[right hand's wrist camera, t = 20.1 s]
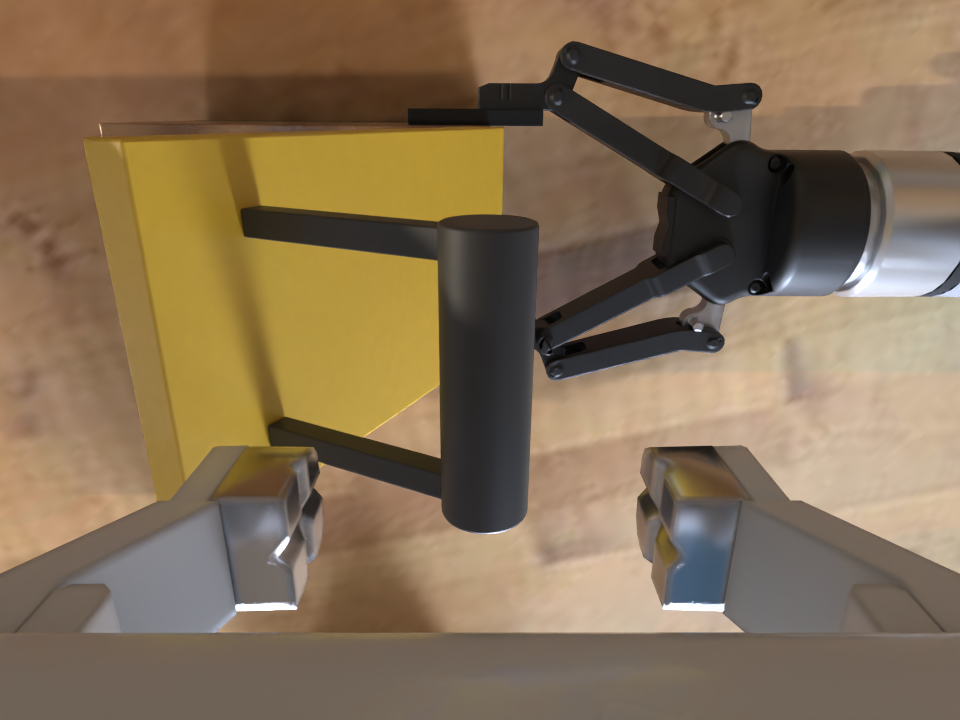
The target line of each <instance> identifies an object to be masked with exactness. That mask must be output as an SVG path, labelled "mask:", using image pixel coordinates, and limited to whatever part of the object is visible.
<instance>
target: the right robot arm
mask: <svg viewBox="0 0 960 720" xmlns="http://www.w3.org/2000/svg"><path fill="white" fill-rule="evenodd" d="M319 473H320V471H319V463H318V456H317V453H316V451H315V449H314V447H277V446H248V445H240V446H217V447H213V448H212V449H211V451H210V452H209V453H208V454H207V456H206V457H205V458H204V459H203V460H202V462H201V463H200V464H199V465H198V467H197V468H196V469H195V470H194V471H193V473H192V474H191V475H190V476H189V478H188V479H187V480H186V481H185V482H184V484H183V485H182V486H181V487H180V489H179V490H178V491H177V492H176V493H175V495H174V496H173V497H172V498H171V500H170V501H157V502H155V503H153V504H151V505H149V506H146V507H144V508H142V509H140V510H138V511H136V512H133V513H131V514H129V515H127V516H125V517H123V518H120V519H118V520H116V521H114V522H112V523H110V524H107V525H105V526H103V527H101V528H99V529H96V530H94V531H92V532H90V533H88V534H86V535H83V536H81V537H79V538H77V539H75V540H73V541H70V542H68V543H66V544H64V545H62V546H60V547H57V548H55V549H53V550H51V551H49V552H47V553H44V554H42V555H40V556H38V557H36V558H33V559H31V560H29V561H27V562H25V563H23V564H20V565H18V566H16V567H14V568H12V569H10V570H7V571H5V572H3V573H1V574H0V720H960V574H959V573H956V572H954V571H952V570H950V569H948V568H946V567H943V566H941V565H939V564H937V563H935V562H933V561H930V560H928V559H926V558H924V557H922V556H920V555H917V554H915V553H913V552H911V551H909V550H907V549H904V548H902V547H900V546H898V545H896V544H894V543H891V542H889V541H887V540H885V539H883V538H881V537H878V536H876V535H874V534H872V533H870V532H868V531H865V530H863V529H861V528H859V527H857V526H855V525H852V524H850V523H848V522H846V521H844V520H842V519H839V518H837V517H835V516H833V515H831V514H829V513H827V512H824V511H822V510H820V509H818V508H816V507H814V506H811V505H809V504H807V503H805V502H803V501H790V500H789V498H788V497H787V496H786V495H785V493H784V492H783V491H782V490H781V489H780V487H779V486H778V485H777V484H776V483H775V481H774V480H773V479H772V478H771V476H770V475H769V474H768V473H767V472H766V470H765V469H764V468H763V467H762V465H761V464H760V463H759V462H758V461H757V459H756V458H755V457H754V456H753V455H752V453H751V452H750V451H749V450H748V448H747V447H744V446H741V445H733V446H684V447H649V448H646V449H644V453H643V456H642V462H641V470H640V473H641V476H642V478H643V480H644V483H645V485H646V487H647V488H646V489H645V490H644V491H643V492H642V493H641V494H640V495H639V497H638V499H637V513H636V521H637V535H638V540H639V545H640V548H641V551H642V554H643V557H644V558H645V559H647V560H648V561H650V562H651V563H653V565H652V574H651V578H652V581H653V583H654V586H655V589H656V591H657V594H658V596H659V599H660V602H661V604H662V607H663V609H677V610H714V611H723V614H724V615H725V616H726V617H728V618H729V619H730V620H731V621H732V622H733V623H735V624H736V625H737V626H738V627H739V628H740V629H742V630H743V631H744V632H745V633H215V632H216V631H218V630H219V629H220V628H221V627H222V626H223V625H225V624H226V623H227V622H228V621H229V620H230V619H232V618H233V617H234V616H235V615H236V614H237V611H245V610H281V609H297V607H298V605H299V602H300V599H301V597H302V594H303V591H304V589H305V586H306V583H307V581H308V578H309V574H308V565H307V563H309V562H310V561H312V560H313V559H315V558H316V557H317V554H318V551H319V548H320V545H321V539H322V533H323V526H324V510H323V499H322V497H321V495H320V494H319V493H318V492H317V491H316V490H315V489H314V488H313V487H314V485H315V483H316V480H317V478H318V476H319Z"/></svg>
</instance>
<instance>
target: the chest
mask: <svg viewBox="0 0 960 720" xmlns="http://www.w3.org/2000/svg"><path fill="white" fill-rule="evenodd" d="M99 126H100V131H101V136H102V137H107V136H144V135H181V134H219V133H256V132H293V131H330V130H367V129H404V128H442V127H479V126H480V127H490V126H489V125H408V122H320V121H201V120H200V121H167V122H125V123H100V124H99Z"/></svg>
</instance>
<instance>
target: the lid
mask: <svg viewBox="0 0 960 720" xmlns="http://www.w3.org/2000/svg"><path fill="white" fill-rule="evenodd" d="M83 144H84V149H85V154H86V158H87V163H88V168H89V173H90V178H91V183H92V188H93V192H94V197H95V202H96V207H97V212H98V217H99V222H100V226H101V231H102V236H103V241H104V246H105V251H106V256H107V260H108V265H109V270H110V275H111V280H112V285H113V290H114V294H115V299H116V304H117V309H118V314H119V319H120V324H121V328H122V333H123V338H124V343H125V348H126V353H127V358H128V362H129V367H130V372H131V377H132V382H133V387H134V392H135V396H136V401H137V406H138V411H139V416H140V421H141V426H142V430H143V435H144V440H145V445H146V450H147V455H148V460H149V464H150V469H151V474H152V479H153V484H154V489H155V494H156V498H157V501H170V500H171V498H172V497H173V496H174V495H175V493H176V492H177V491H178V490H179V489H180V487H181V486H182V485H183V484H184V482H185V481H186V480H187V479H188V478H189V476H190V475H191V474H192V473H193V471H194V470H195V469H196V468H197V467H198V465H199V464H200V463H201V462H202V460H203V459H204V458H205V457H206V456H207V454H208V453H209V452H210V451H211V449H212V448H213V447H217V446H240V445H248V446H277V447H314V449H315V451H316V453H317V456H318V463H319V468H320V467H321V466H323V465H324V464H327V465H330V466H334V467H337V468H340V469H344V470H347V471H350V472H354V473H357V474H360V475H363V476H367V477H370V478H373V479H377V480H380V481H383V482H386V483H390V484H393V485H396V486H400V487H403V488H406V489H410V490H413V491H416V492H419V493H423V494H426V495H429V496H433V497H436V498H439V499H442V512H443V515H444V516H445V518H446V519H447V521H448V522H449V523H451V524H452V525H453V526H455V527H457V528H459V529H461V530H464V531H467V532H471V533H477V534H494V533H500V532H504V531H507V530H509V529H512V528H514V527H515V526H517V525H518V524H519V523H520V522H521V521H522V520H523V519H524V517H525V516H526V513H527V506H528V482H529V458H530V433H531V409H532V385H533V360H534V336H535V312H536V287H537V263H538V239H539V225H538V222H536V221H534V220H532V219H529V218H525V217H519V216H511V215H502V197H503V148H504V128H503V127H480V126H479V127H442V128H404V129H367V130H330V131H293V132H256V133H219V134H181V135H144V136H107V137H86V138H84V139H83ZM438 385H440V436H441V459H440V458H436V457H433V456H429V455H425V454H422V453H418V452H414V451H411V450H407V449H403V448H400V447H396V446H392V445H388V444H385V443H381V442H377V441H374V440H370V439H366V438H363V437H365V436H366V435H367V434H369V433H370V432H372V431H373V430H375V429H376V428H378V427H379V426H380V425H382V424H383V423H385V422H386V421H388V420H389V419H391V418H392V417H393V416H395V415H396V414H398V413H399V412H401V411H402V410H404V409H405V408H406V407H408V406H409V405H411V404H412V403H414V402H415V401H417V400H418V399H419V398H421V397H422V396H424V395H425V394H427V393H428V392H430V391H431V390H432V389H434V388H435V387H437V386H438Z"/></svg>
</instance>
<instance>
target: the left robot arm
mask: <svg viewBox="0 0 960 720" xmlns="http://www.w3.org/2000/svg"><path fill="white" fill-rule="evenodd" d="M577 77H580V78H584V79H587V80H590V81H593V82H596V83H600V84H603V85H606V86H609V87H612V88H615V89H619V90H622V91H625V92H628V93H631V94H634V95H638V96H641V97H644V98H647V99H650V100H654V101H657V102H660V103H663V104H666V105H669V106H673V107H676V108H679V109H682V110H687V111H692V112H704V122H705V124H706V125H707V126H708V127H709V128H713V129H717V130H719V131H720V132H721V133H722V135H723V139H724V142H723V143H721V144H719V145H718V146H716V147H715V148H714V149H712V150H711V151H709V152H708V153H706V154H705V155H703V156H702V157H700V158H699V159H698V160H696V161H695V162H693V163H692V164H690V163H688V162H687V161H685V160H683V159H682V158H680V157H678V156H677V155H675V154H673V153H671V152H669V151H667V150H666V149H664V148H663V147H661V146H659V145H658V144H656V143H655V142H653V141H652V140H650V139H648V138H647V137H645V136H644V135H642V134H640V133H639V132H637V131H636V130H634V129H633V128H631V127H629V126H628V125H626V124H625V123H623V122H622V121H620V120H618V119H617V118H615V117H614V116H612V115H610V114H609V113H607V112H606V111H604V110H603V109H601V108H599V107H598V106H596V105H595V104H593V103H592V102H590V101H588V100H587V99H585V98H584V97H582V96H580V95H579V94H577V93H576V92H574V91H573V88H574V85H575V83H576V80H577ZM761 99H762V90H761V88H760V87H759V86H758V85H757V84H755V83H743V84H730V85H717V86H714V85H711V84H708V83H705V82H702V81H699V80H696V79H692V78H689V77H686V76H683V75H680V74H677V73H674V72H671V71H667V70H664V69H661V68H658V67H655V66H652V65H649V64H646V63H642V62H639V61H636V60H633V59H630V58H627V57H624V56H620V55H617V54H614V53H611V52H608V51H605V50H602V49H599V48H595V47H592V46H589V45H586V44H583V43H580V42H574V41H572V42H569V43H567V44H566V45H565V46H564V47H563V48H561V50H560V51H558V53H557V55H556V60H555V62H554V65H553V68H552V70H551V73H550V75H549V77H548V78H547V79H546V81H544V82H542V83H537V84H521V83H488V84H486V85H484V86H481V87H479V88H478V109H408V125H489V126H543V111H550V112H552V113H554V114H555V115H557V116H558V117H560V118H562V119H563V120H565V121H566V122H568V123H570V124H571V125H573V126H574V127H576V128H578V129H579V130H581V131H582V132H584V133H586V134H587V135H589V136H590V137H592V138H594V139H595V140H597V141H599V142H600V143H602V144H603V145H605V146H607V147H608V148H610V149H611V150H613V151H615V152H616V153H618V154H619V155H621V156H623V157H624V158H626V159H627V160H629V161H631V162H632V163H634V164H635V165H637V166H639V167H640V168H642V169H643V170H645V171H646V172H648V173H649V174H651V175H652V176H654V177H655V178H657V179H659V180H660V181H662V182H663V183H665V184H666V185H665V186H664V188H663V190H662V192H659V194H658V204H657V208H658V214H659V224H658V227H657V230H656V232H655V235H654V243H653V250H654V251H655V252H656V255H654V256H652V257H650V258H648V259H646V260H644V261H642V262H641V263H639V264H638V266H637V267H636V268H634V269H633V270H631V271H629V272H627V273H625V274H623V275H621V276H619V277H617V278H615V279H613V280H611V281H610V282H608V283H606V284H604V285H602V286H600V287H598V288H596V289H594V290H592V291H590V292H588V293H586V294H585V295H583V296H581V297H579V298H577V299H575V300H573V301H571V302H569V303H567V304H565V305H563V306H561V307H559V308H558V309H556V310H554V311H552V312H550V313H548V314H546V315H544V316H542V317H540V318H538V319H537V320H535V336H534V349H535V350H537V351H538V352H539V353H540V355H541V358H542V360H543V363H544V366H545V369H546V373H547V375H548V377H549V378H550V379H552V380H555V381H558V380H563V379H567V378H571V377H575V376H580V375H584V374H588V373H592V372H596V371H600V370H604V369H608V368H612V367H616V366H620V365H624V364H628V363H632V362H637V361H641V360H645V359H649V358H653V357H657V356H661V355H665V354H669V353H673V352H677V351H693V352H706V353H715V352H718V351H720V350H721V349H722V348H723V346H724V337H723V336H722V335H721V334H720V333H719V328H720V324H721V319H722V315H723V311H724V306H725V304H727V303H730V302H732V301H734V300H736V299H738V298H741V297H744V296H826V295H829V294H831V293H834V294H836V295H837V296H844V297H880V296H930V297H932V296H945V297H960V153H955V152H942V151H871V150H864V151H855V152H853V153H851V154H848V153H847V152H845V151H840V150H765V149H762V148H760V147H758V146H757V145H755V144H754V143H752V142H750V129H751V116H752V109H754V108H755V107H756V106H758V104H759V103H760V102H761ZM686 285H687V286H688V287H690V288H691V289H692V290H694V291H695V292H696V293H697V294H699V295H700V296H701V297H702V300H701V302H700V303H699V304H698V305H697V306H696V307H694V308H688V309H685V310H684V311H682V312H681V314H680V316H679V317H671V318H663V319H658V320H654V321H650V322H646V323H642V324H638V325H634V326H630V327H626V328H622V329H618V330H614V331H610V332H606V333H602V334H598V335H594V336H590V337H586V338H582V339H578V340H574V341H570V340H572V339H574V338H576V337H578V336H580V335H582V334H584V333H586V332H588V331H589V330H591V329H593V328H595V327H597V326H599V325H601V324H603V323H605V322H607V321H609V320H611V319H613V318H615V317H617V316H619V315H621V314H623V313H625V312H627V311H629V310H631V309H633V308H635V307H637V306H639V305H641V304H643V303H645V302H647V301H649V300H651V299H653V298H656V297H663V296H666V295H668V294H670V293H672V292H674V291H676V290H678V289H680V288H682V287H684V286H686ZM568 341H570V342H568ZM566 342H567V343H566Z"/></svg>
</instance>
